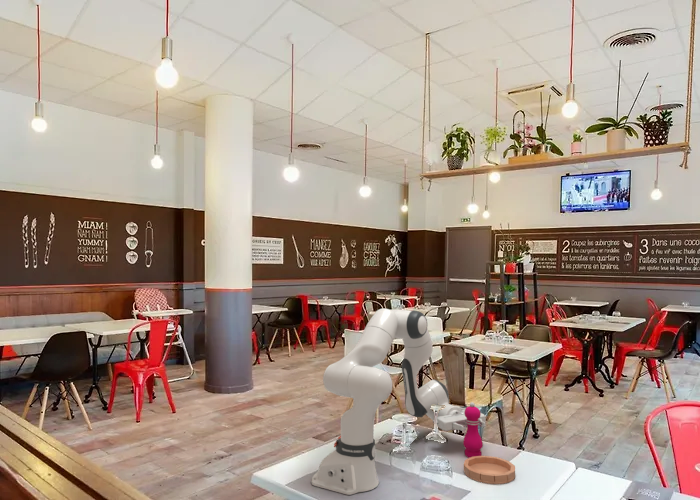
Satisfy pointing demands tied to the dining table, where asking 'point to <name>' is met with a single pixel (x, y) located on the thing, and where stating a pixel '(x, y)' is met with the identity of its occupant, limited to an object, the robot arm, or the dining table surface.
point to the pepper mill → (472, 432)
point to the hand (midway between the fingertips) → (474, 426)
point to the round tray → (489, 469)
